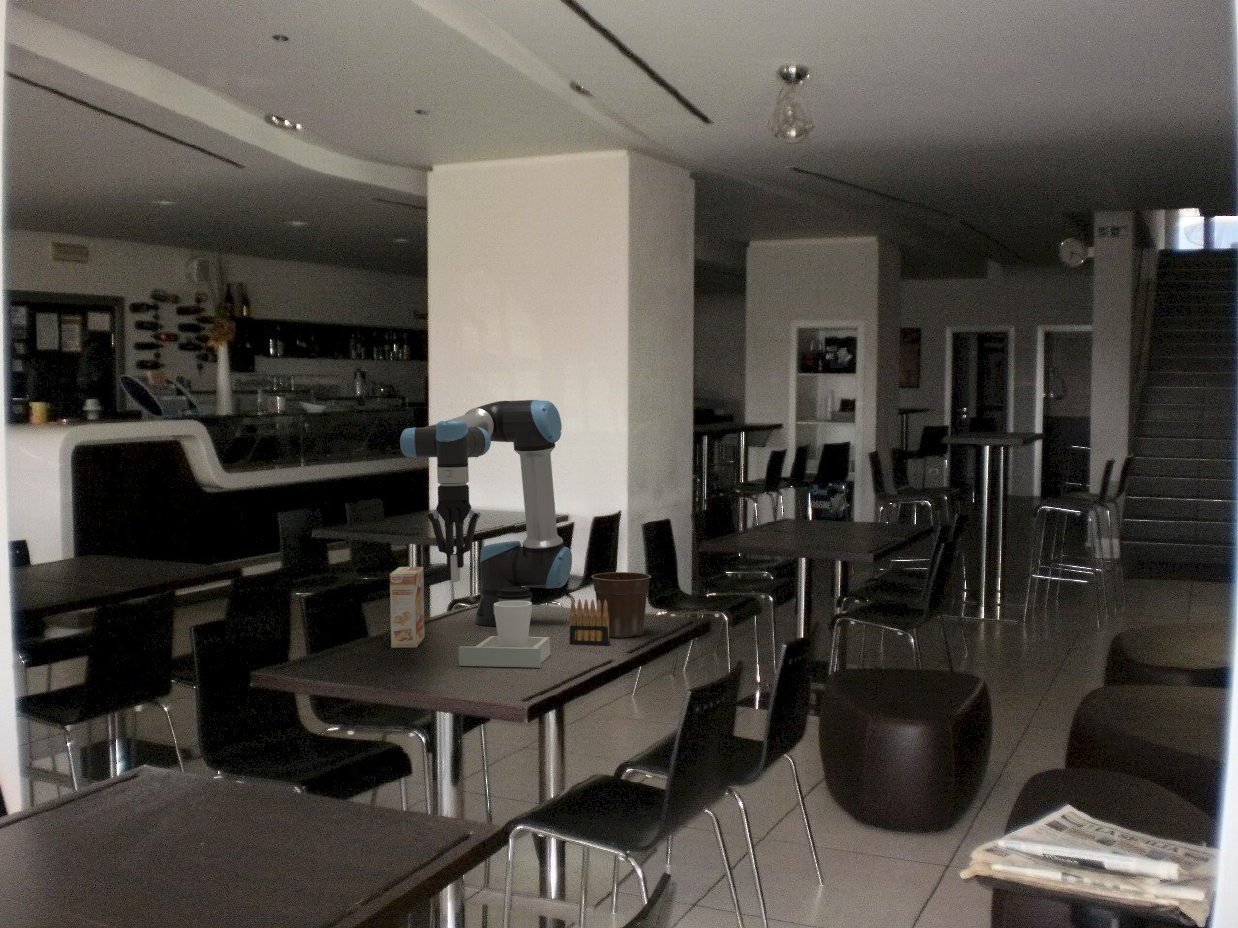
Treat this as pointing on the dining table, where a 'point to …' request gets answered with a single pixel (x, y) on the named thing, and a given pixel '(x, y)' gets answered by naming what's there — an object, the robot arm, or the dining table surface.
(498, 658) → the gate
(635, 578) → the plant pot
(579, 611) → the ammunition clip
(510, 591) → the coffee cup
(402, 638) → the coffeecake box
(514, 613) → the foam cup
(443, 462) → the robot arm
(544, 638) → the housing
